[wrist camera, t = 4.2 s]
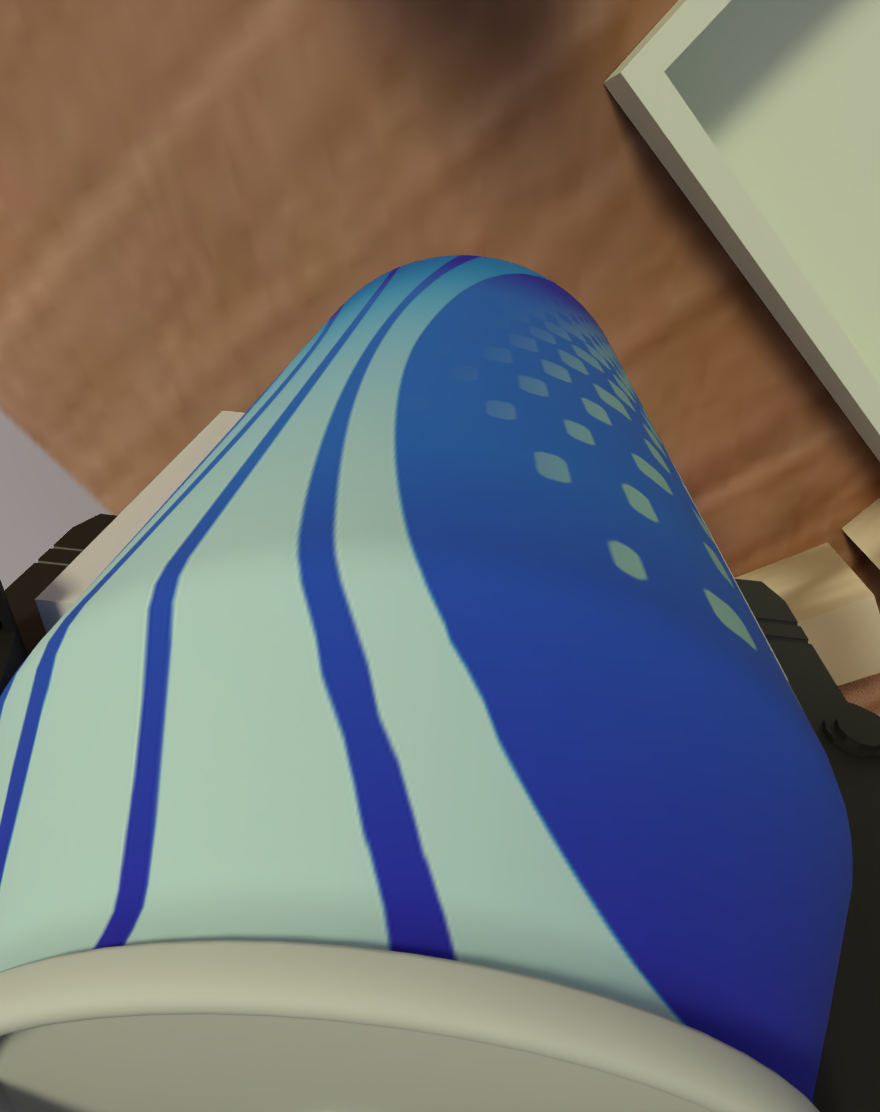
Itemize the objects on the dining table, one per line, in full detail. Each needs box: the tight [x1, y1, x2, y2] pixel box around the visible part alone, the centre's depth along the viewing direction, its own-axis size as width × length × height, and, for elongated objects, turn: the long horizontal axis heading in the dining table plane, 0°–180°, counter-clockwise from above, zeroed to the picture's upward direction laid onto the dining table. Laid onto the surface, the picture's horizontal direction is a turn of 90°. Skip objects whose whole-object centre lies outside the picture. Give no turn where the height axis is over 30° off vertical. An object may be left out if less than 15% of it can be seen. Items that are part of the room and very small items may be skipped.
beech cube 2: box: [734, 542, 880, 686], centre depth 27 cm, size 4×4×4 cm
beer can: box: [0, 255, 853, 1112], centre depth 11 cm, size 8×8×16 cm
